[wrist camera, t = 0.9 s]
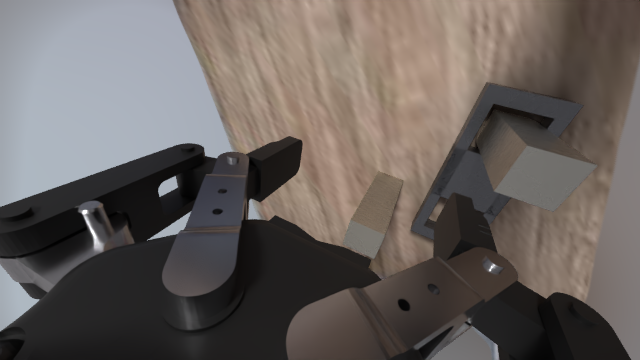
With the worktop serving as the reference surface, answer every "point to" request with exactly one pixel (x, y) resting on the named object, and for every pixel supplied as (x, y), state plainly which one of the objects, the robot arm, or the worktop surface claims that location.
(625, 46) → the worktop surface
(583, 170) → the seated block
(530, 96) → the dark grey slotted holder
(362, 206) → the off-white tall block
